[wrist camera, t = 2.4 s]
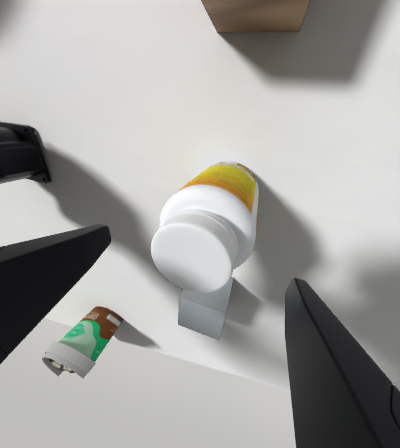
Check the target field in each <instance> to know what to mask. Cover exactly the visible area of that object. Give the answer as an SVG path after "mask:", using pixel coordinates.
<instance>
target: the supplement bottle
mask: <svg viewBox="0 0 400 448" xmlns="http://www.w3.org/2000/svg"><path fill="white" fill-rule="evenodd" d="M258 200H259V188H258V183H257V180H256V178H255V176H254V175H253V173H252V172H251V171H250V170H249V169H248V168H246V167H245V166H244V165H242V164H240V163H237V162H232V161H223V162H219V163H216V164H214V165H212V166H210V167H209V168H207V169H206V170H205V171H203V172H202V173H201V174H199V175H198V176H197V177H196V178H194V179H193V180H192V181H190V182H189V183H188V184H187V185H185V186H184V187H183V188H181V189H180V190H179V191H178V192H176V193H175V194H174V195H173V196H172V197H171V198H170V199H169V200H168V201H167V202H166V204H165V206H164V208H163V210H162V212H161V216H160V229H159V230H158V231H157V232H156V234H155V235H154V237H153V239H152V242H151V255H152V258H153V261H154V263H155V265H156V267H157V269H158V270H159V271H160V273H161V274H162V275H163V276H164V277H165V278H166V279H167V280H169V281H170V282H171V283H173V284H174V285H176V286H178V287H180V288H182V289H185V290H187V291H191V292H197V293H209V292H213V291H216V290H218V289H220V288H222V287H223V286H224V285H226V284H227V282H228V281H229V279H230V278H231V275H232V272H233V269H235V268H237V267H239V266H240V265H241V264H242V263H244V262H245V261H246V259H247V258H248V257H249V255H250V254H251V252H252V250H253V247H254V244H255V239H256V227H257V215H258Z"/></svg>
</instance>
